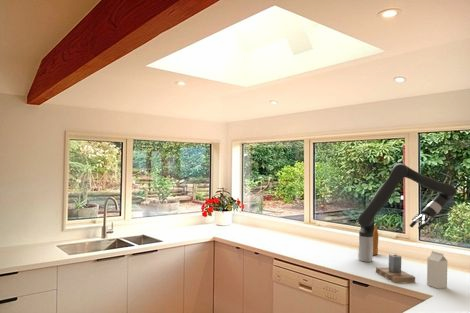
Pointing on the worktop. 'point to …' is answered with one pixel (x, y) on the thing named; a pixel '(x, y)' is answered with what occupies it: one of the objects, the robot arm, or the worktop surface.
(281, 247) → the worktop surface
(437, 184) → the robot arm
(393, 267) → the block
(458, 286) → the worktop surface
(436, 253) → the milk carton
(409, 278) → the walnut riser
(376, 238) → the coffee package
